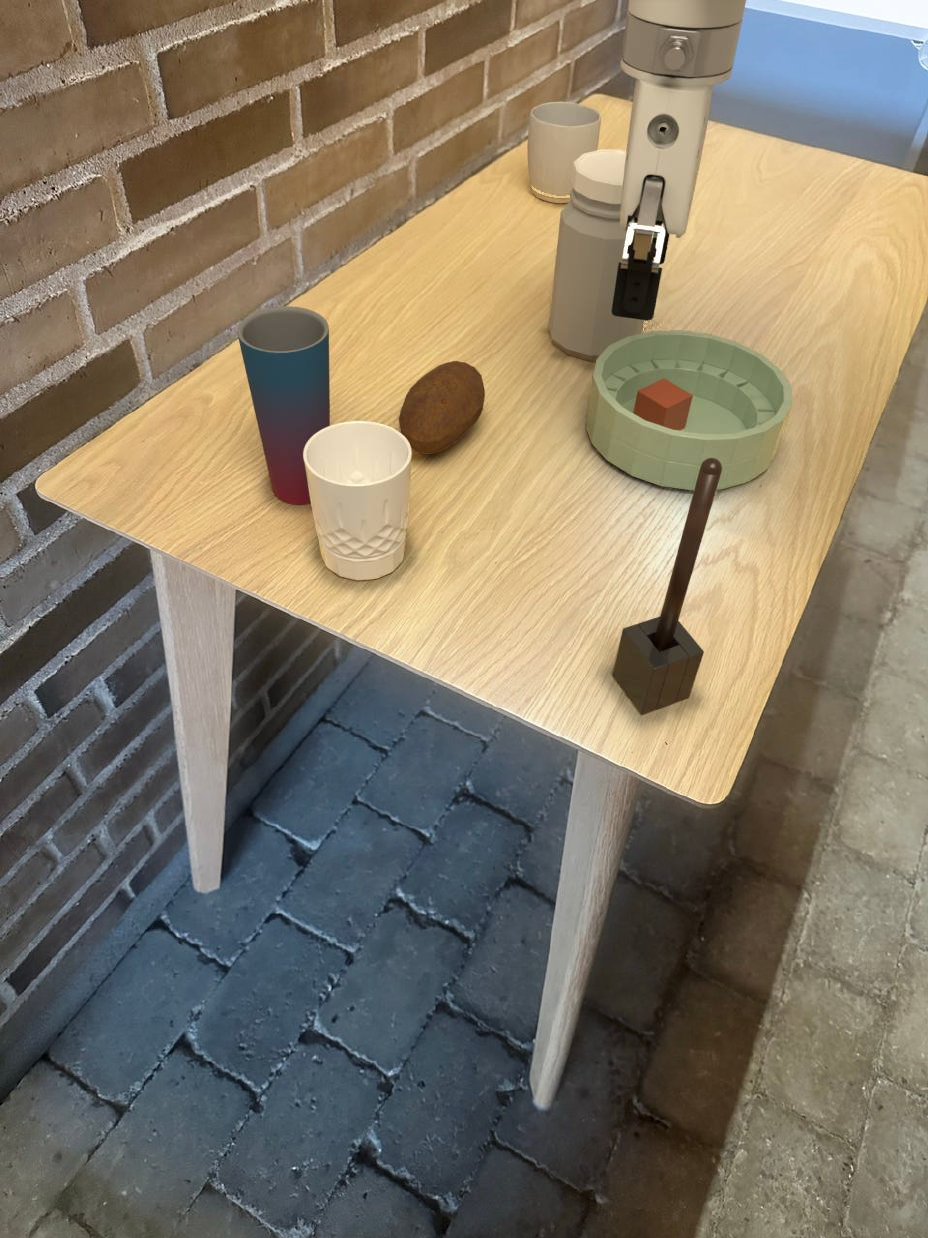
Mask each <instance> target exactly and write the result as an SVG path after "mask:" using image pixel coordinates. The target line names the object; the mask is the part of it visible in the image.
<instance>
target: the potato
mask: <svg viewBox="0 0 928 1238" xmlns="http://www.w3.org/2000/svg"><path fill="white" fill-rule="evenodd" d="M485 398H486V391H485V385H484V381H483V377H482V374H481V373H480V371H478V369H477V368H476V367H475V366H473V365H470V364H469V363H467V362H465V361H464V362H463V361H459V360H453V361H448V362H445V363H442V364H439V365H437V366H436V367H434V368H433V369H431V370H429V371H428V372H426V373H425V374H424V375H422V376H421V377H420V378H419V379H418V380H417V381H416V382H415V383H414V384H412V386H411V387H410V388H409V389H408V391H407V393H406V395H405V397H404V400H403V403H402V406H401V409H400V412H399V415H398V424H399V430H400V433H401V434H402V435H404V436H405V438H406V439H407V440H408V442H409V443H410V446H411V450H413V451H415V452H416V453H418V454H423V455H432V454H437V453H440V452H442V451H444V450H446V449H448V448H450V447H451V446H452V445H454V444H455V443H456V442H458V441H459V440H460V439H461V438H462V437H463V436H465V435H466V434H467V433H468V431H470V429H472V427H473V426H474V425H475V424H476V423H477V422H478V420H479V418H480V416H481V414H482V412H483V410H484V405H485Z"/></svg>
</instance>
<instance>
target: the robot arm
mask: <svg viewBox="0 0 928 1238" xmlns="http://www.w3.org/2000/svg"><path fill="white" fill-rule="evenodd" d="M746 4H747V0H628V5H627V11H626V18H625V27H624V34H623V41H622V49H621V57H620V63H619V65H620V70H622V72H623V73H625V74H626V75H628V76H630V77H632V78H634V79H635V84H634V90H633V95H632V96H633V98H632V104H631V111H630V118H629V125H628V126H629V127H628V134H627V142H626V149H625V150H626V157H625V166H624V176H623V187H622V199H621V212H620V226H621V227H622V228H623V229H624V230H625V231H627V235H626V240H625V245H624V251H623V256H622V262H619V264H618V270H617V277H616V284H615V291H614V297H613V304H612V314H613V315H614V316H618V317H625V318H632V319H639V320H644V321H647V322H649V321H651V320H653V319H654V315H655V310H656V305H657V299H658V295H659V289H660V285H661V278H662V272H663V267H661V265H663V264H664V263H665V261H666V256H667V250H668V245H669V241H670V240H669V239H670V235H675V238H677V239H680V238H681V237H683V236H684V235H685V234H686V233H687V228H688V223H689V219H690V216H691V215H690V214H691V210H692V206H693V205H692V204H693V200H694V194H695V190H696V184H697V180H698V175H699V170H700V165H701V160H702V155H703V149H704V145H705V140H706V135H707V129H708V125H709V124H708V123H709V117H710V111H711V106H712V100H713V92H714V91H713V90H714V86H715V85H718V84H722V83H724V82H726V81H728V80H730V78H731V77H732V74H733V73H732V72H733V69H734V62H735V58H736V53H737V49H738V45H739V40H740V39H739V38H740V34H741V31H742V24H743V18H744V14H745V9H746Z"/></svg>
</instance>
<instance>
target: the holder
mask: <svg viewBox="0 0 928 1238" xmlns="http://www.w3.org/2000/svg"><path fill="white" fill-rule="evenodd" d="M659 619H660V615H659V616H658V617H656V616H655V617H653V618H650V619H647V620H644V621H641V622H638V623H635V624H631V625H629V626H626V627H623V628H622V631H621V634H620V635H621V636H620V639H619V642H618V643H619V644H618V647H617V648H618V649H617V653H616V657H615V661H614V665H613V669H612V677H613V679H614V680H615V682H616V683H617V684H618V685H619V687H620V688H621V690H622V691H623V693H624V694H625V695H626V697H627V698H628V699H629V701H630V702H631V704H632V705H633V706H634V707H635V709H636V710H637V712H638V713H639V715H640V716H644V715H646V714H648V713H652V712H655V711H658V710H660V709H663V708H666V707H669V706H671V705H675V704H677V703H679V702H682V701H685V700H687V699H689V698H690V695H691V693H692V690H693V687H694V684H695V681H696V678H697V674H698V672H699V669H700V665H701V664H702V663H701V662H702V659H703V657H704V654H705V651H704V650H703V649H702V647H701V645H699V644H698V642H697V641H696V640H695V639H694V638H693V636H692V635H691V634H690V633H689V631H688V630H687V629H686V628H685V627H684V625H683V624H682V623H681V621H680V620H678V623H677V627H676V630H675V633H674V637H673V640H672V644H671V647H670V648H669V649H666V650H663V651H660V652H659V651H658V650H657V648H656V647H655V646H654V644H653V641H654V637H655V634H656V630H657V626H658V622H659Z"/></svg>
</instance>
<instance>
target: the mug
mask: <svg viewBox="0 0 928 1238" xmlns="http://www.w3.org/2000/svg"><path fill="white" fill-rule="evenodd" d="M528 120H529V121H528V129H527V145H526V146H527V148H526V149H527V171H528V173H527V174H528V179H529V184H530V183H531V185H532V186H533V187H534V188H536V189H537V190H540V191H541V192H544V193H548V194H551V195H556V196H566V195H570V191H571V190H572V189H573V188H574V186H573V184H572V172H573V162H574V161H575V160H577V159H578V158H579V157H580V156H581V155H582V154H584V153H588V152H593V151H597V150H599V143H600V142H599V141H600V132H601V124H602V115H601V113H600V111H598V110H597V109H594V108H593V107H590V106H589V105H585V104H581V103H576V102H572V101H571V102H570V101H551V102H550V101H549V102H545V103H541V104H539V105H536V106H535V107H534V106H533V108H532V109H531V111H530V112H529V119H528ZM531 191H532V193H533V194H534V196H535V197H536V198H539V199H540V200H542V201H544V202H547V203H554V204H568V203H569V202H570V201H571V197H570V198H554V197H549V196H545V195H542V194H539V193H537V192H536V191H534V190H533V189H532V188H531Z"/></svg>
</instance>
